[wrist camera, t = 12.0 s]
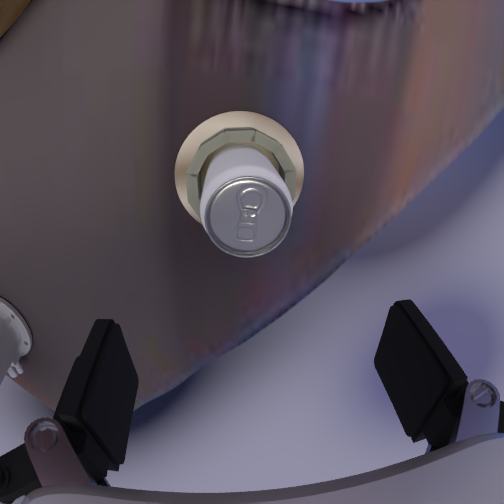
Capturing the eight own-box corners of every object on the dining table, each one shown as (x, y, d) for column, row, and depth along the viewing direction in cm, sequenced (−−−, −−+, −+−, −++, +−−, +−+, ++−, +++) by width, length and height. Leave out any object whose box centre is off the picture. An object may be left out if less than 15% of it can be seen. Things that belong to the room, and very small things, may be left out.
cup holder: (299, 228, 35) (309, 246, 31) (182, 234, 34) (177, 253, 30) (302, 110, 29) (314, 113, 25) (171, 115, 28) (163, 117, 24)
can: (277, 148, 30) (307, 178, 19) (266, 209, 33) (286, 267, 22) (211, 139, 29) (203, 163, 18) (203, 202, 32) (193, 258, 21)
